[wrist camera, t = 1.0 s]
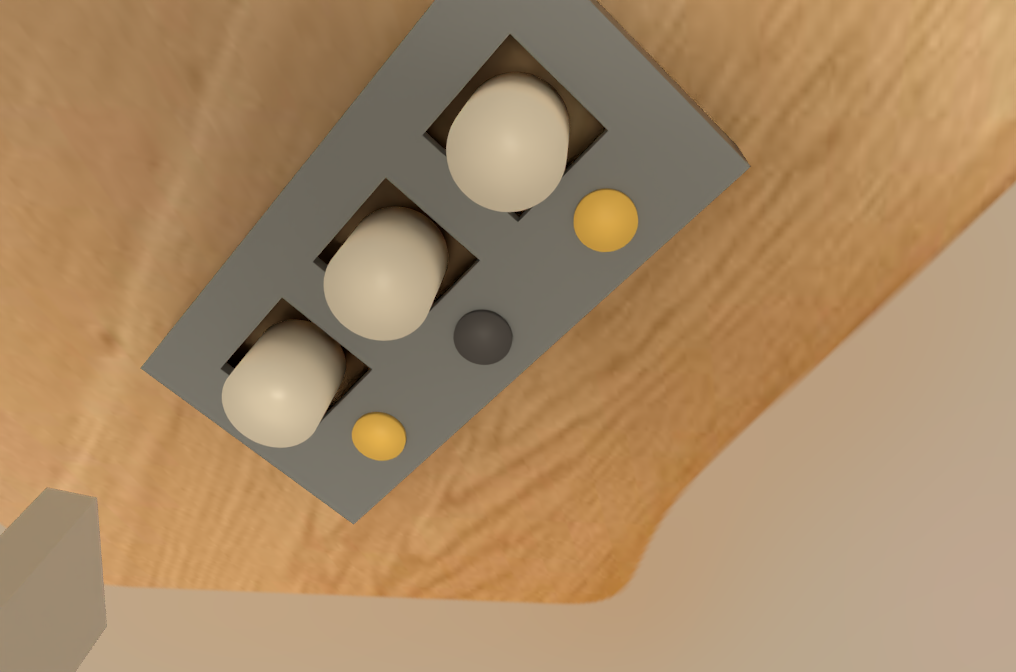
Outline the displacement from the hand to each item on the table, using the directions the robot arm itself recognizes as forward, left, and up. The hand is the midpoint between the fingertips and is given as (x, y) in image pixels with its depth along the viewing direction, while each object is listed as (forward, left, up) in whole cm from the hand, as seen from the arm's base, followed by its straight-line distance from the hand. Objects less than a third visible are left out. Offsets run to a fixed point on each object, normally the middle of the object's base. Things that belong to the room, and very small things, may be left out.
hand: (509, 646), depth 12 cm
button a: (-3, -13, -21) cm, 25 cm away
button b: (-3, -6, -21) cm, 22 cm away
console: (-2, -6, -23) cm, 24 cm away
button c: (-3, +1, -21) cm, 21 cm away
